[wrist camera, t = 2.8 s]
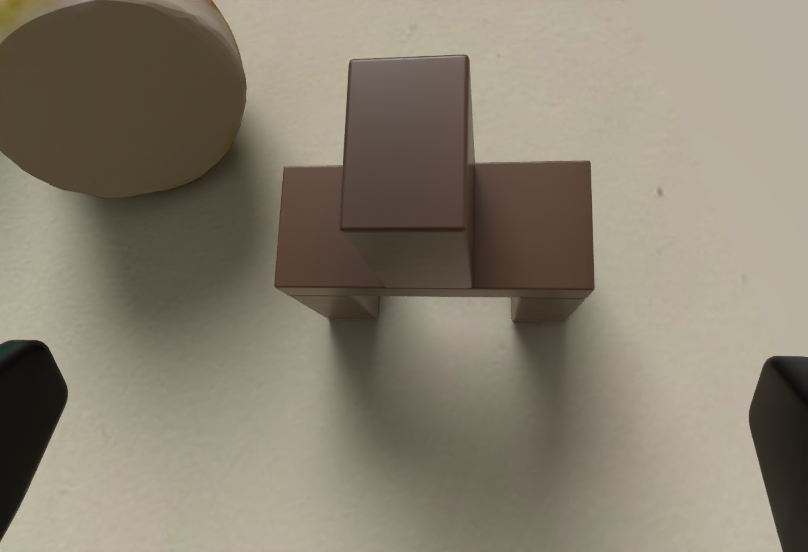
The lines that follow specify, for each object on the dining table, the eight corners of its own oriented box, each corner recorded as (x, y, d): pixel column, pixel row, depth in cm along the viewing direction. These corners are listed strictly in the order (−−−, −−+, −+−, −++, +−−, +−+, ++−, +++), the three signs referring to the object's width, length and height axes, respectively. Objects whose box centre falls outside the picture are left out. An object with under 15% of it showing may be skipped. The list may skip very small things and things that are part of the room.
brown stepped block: (564, 224, 19) (637, 44, 10) (566, 323, 18) (646, 229, 9) (333, 226, 20) (199, 64, 11) (327, 319, 19) (179, 232, 10)
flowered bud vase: (189, -87, 24) (150, -268, 14) (265, 166, 26) (277, 158, 16) (-22, -49, 22) (-227, -224, 12) (76, 215, 24) (-35, 239, 15)
